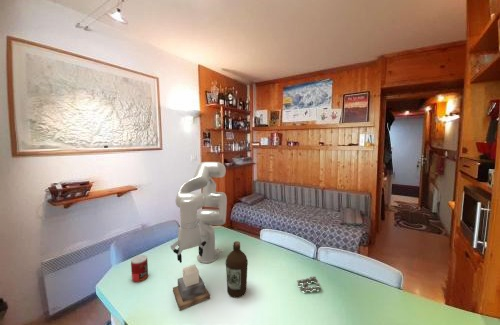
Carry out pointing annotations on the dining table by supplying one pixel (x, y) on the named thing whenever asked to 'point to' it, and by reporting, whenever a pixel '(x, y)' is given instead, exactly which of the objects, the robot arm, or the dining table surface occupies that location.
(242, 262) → the olive oil
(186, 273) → the cream cube
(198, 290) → the pedestal
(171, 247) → the robot arm
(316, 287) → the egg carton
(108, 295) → the dining table surface
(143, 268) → the canned food
